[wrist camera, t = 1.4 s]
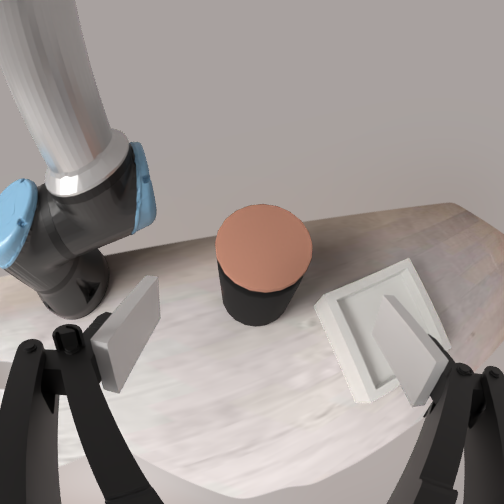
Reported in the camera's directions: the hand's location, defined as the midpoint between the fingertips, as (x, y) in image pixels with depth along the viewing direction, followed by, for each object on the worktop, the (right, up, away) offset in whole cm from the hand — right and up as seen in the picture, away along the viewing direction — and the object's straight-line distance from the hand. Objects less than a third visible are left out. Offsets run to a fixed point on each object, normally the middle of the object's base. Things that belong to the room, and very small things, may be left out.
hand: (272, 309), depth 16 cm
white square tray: (+21, -11, +29) cm, 38 cm away
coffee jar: (-1, -4, +31) cm, 32 cm away
